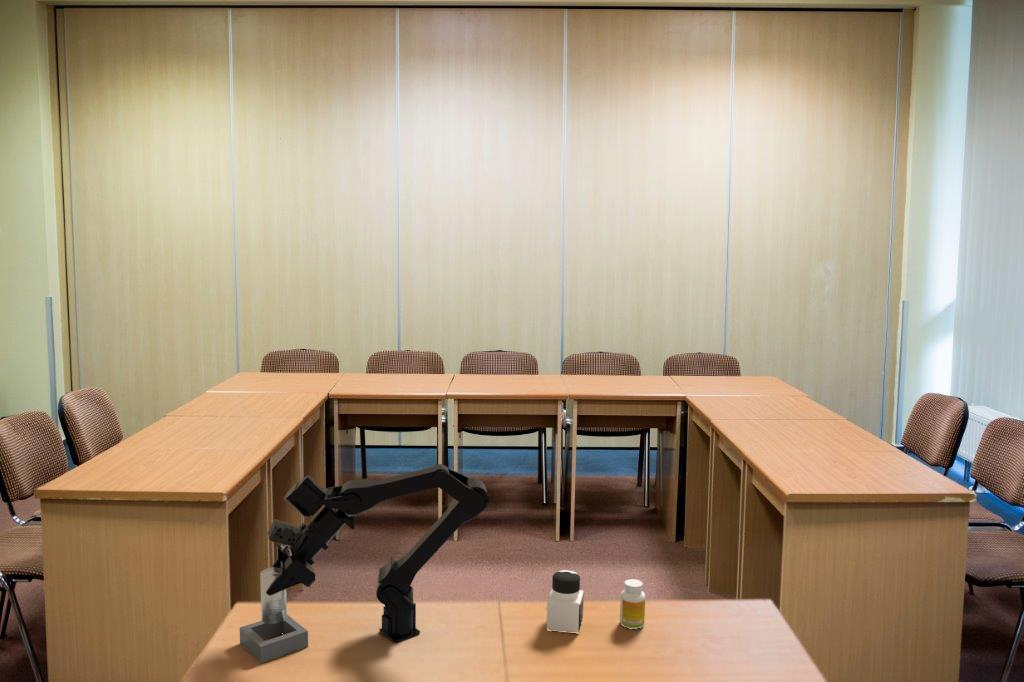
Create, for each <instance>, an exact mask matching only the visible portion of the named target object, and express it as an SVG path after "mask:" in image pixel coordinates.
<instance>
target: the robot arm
mask: <svg viewBox="0 0 1024 682" xmlns="http://www.w3.org/2000/svg"><path fill="white" fill-rule="evenodd" d="M436 488H439V489H440V490H441V491H444V492H445V493H446V494H448V495H449V496H450V497H452V499H451V501H450V504H449V506H448V508H447V509H446V510H445V511H444V512H443V513H442V515H440V517H438V519H437V520H436V521H435V522H434V523H433V524H432V526H431V527H430V528H428V530H427V531H426V532H425V533H424V534H423V535H422V536H421V538H420V539H419V540H418V541H417V542H416V543H415V544H414V545H413V546H412V547H411V549H409V551H407V553H406V554H405V555H404V556H403V557H401V558H399V559H397V560H396V559H395V558H394V557H392V556H391V557H390V558H389V559H388V560H387V562H386V563H385V564H384V566H382V567H380V568H379V569H378V575H377V578H376V590H375V591H376V593H375V594H376V599H377V600H378V602H379V603H381V604H382V605H383V609H382V610H383V614H382V615H381V628H379V630H378V631H379V633H381V635H383V636H385V637H387V639H389V640H391V641H392V642H394V643H399V642H401V641H403V640H406V639H409V638H412V637H415V636H417V635H420V633H421V631H420V630H419V629H418V628H417V621H416V619H417V618H416V617H417V613H416V612H417V604H416V602H414V588H413V587H414V586H412V583H413V582H414V579H415V577H416V575H417V574H418V573H419V571H420V570H421V569H422V568H423V567H424V566H425V565H426V564H427V562H428V561H429V560H431V558H433V556H434V555H435V554H436V553H437V552H438V551H439V550H440V549H441V547H442V546H443V545H444V544H445V543H446V542H447V541H448V540H449V539H450V537H451V536H453V534H454V533H455V532H456V531H457V530H458V529H459V527H461V526H462V525H463V524H466V523H467V522H470V521H472V520H473V519H475V518H476V517H477V516H479V515H480V514H481V513H483V512H484V511H485V510H486V509H487V507H488V506H489V503H490V497H489V496H490V495H489V493H488V491H487V487H486V485H485V483H484V482H483V481H482V480H480V479H479V478H474V477H473V478H471V477H468V476H466V475H464V474H463V473H460V472H459V471H455V470H453V469H451V468H449V467H447V466H446V465H445V464H441V463H438V464H435V465H433V466H431V467H427V468H422V469H418V470H414V471H409V472H406V473H405V472H404V473H402V474H398V475H393V476H390V477H389V476H388V477H386V478H381V479H379V478H378V479H375V478H374V479H373V478H359V479H357V478H356V479H350V480H347V481H346V482H344V483H343V484H342V485H337V486H332V487H326V488H325V489H324V488H323V487H322V486H321V485H319V484H318V482H316V481H315V478H314V477H312V476H311V475H310V474H307V475H306V476H304V478H302V479H301V480H299V481H297V482H296V483H294V485H293V486H292V487H291V488H290V489H289V490H288V491H287V493H286V494H285V496H284V497H283V500H284V501H285V502H287V504H289V505H290V506H291V507H293V509H295V510H296V511H297V512H298V513H300V515H302V516H303V517H308V518H309V517H310V516H311V517H313V516H314V515H315V514H316V515H315V516H314V517H313V518H312V519H311V520H310V521H309V522H308V523H307V522H303V523H301V524H300V525H299V526H297V525H294V524H292V523H290V522H286V521H282V520H279V519H273V520H272V522H271V524H270V527H269V528H268V532H267V535H268V540H269V541H270V542H272V543H279V544H276V557H275V560H274V562H272V565H271V567H281V571H280V573H279V574H278V575H277V577H276V578H275V580H274V581H273V582H272V584H271V585H270V586H269V588H268V590H267V591H266V594H267V595H269V596H271V595H273V594H275V593H278V592H280V591H282V590H285V589H286V590H288V589H290V588H292V587H295V586H297V585H300V584H302V585H304V586H305V587H306V588H310V587H311V585H313V583H315V582H316V572H315V570H314V567H313V566H312V565H314V564H315V558H316V557H317V555H319V553H320V552H322V550H324V551H326V550H327V549H328V548H329V544H328V543H329V542H330V541H331V540H332V539H333V538H334V537H335V536H336V535H337V534H338V532H340V531H341V530H342V528H343V527H344V526H345V525H346V526H347V527H348V528H350V530H355V527H356V526H355V519H356V515H359V514H361V513H363V512H366V511H368V510H370V509H372V508H373V507H375V506H376V505H378V504H380V503H382V502H385V501H389V500H391V499H396V498H399V497H400V498H401V497H404V496H409V495H411V494H416V493H420V492H424V491H427V490H432V489H436ZM321 508H322V509H321ZM320 509H321V510H320ZM319 510H320V511H319ZM318 511H319V512H318ZM280 544H281V545H280Z"/></svg>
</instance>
